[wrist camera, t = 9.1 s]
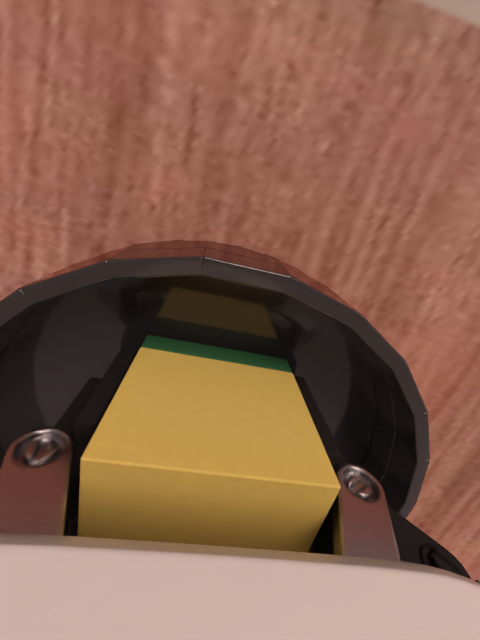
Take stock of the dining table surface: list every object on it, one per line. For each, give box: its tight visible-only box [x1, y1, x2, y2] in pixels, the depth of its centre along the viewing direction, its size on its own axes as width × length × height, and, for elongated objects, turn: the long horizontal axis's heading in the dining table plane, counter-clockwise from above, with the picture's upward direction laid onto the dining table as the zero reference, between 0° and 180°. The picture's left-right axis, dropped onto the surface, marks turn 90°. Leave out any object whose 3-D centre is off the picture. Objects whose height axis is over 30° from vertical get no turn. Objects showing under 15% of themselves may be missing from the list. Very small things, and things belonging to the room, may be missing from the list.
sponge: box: [77, 335, 341, 553], centre depth 9 cm, size 4×6×6 cm
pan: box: [0, 240, 430, 536], centre depth 12 cm, size 18×18×4 cm
